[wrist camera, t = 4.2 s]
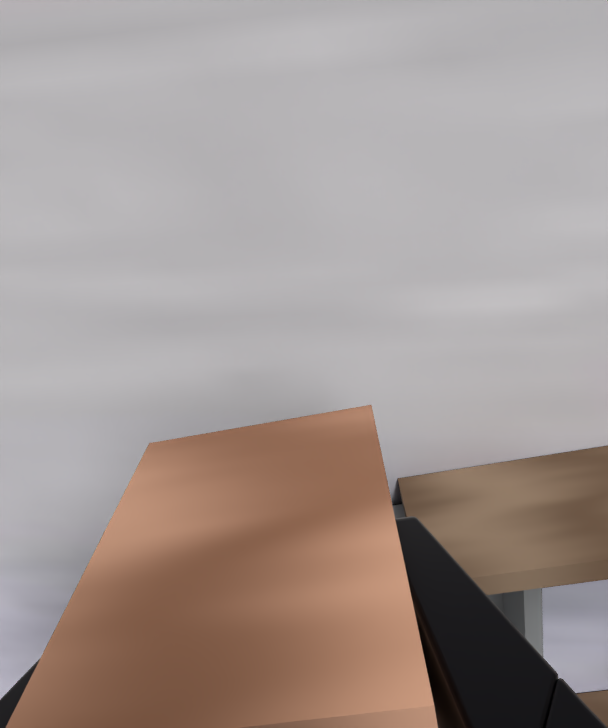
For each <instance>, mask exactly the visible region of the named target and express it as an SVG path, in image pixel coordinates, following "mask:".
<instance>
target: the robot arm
mask: <svg viewBox="0 0 608 728" xmlns="http://www.w3.org/2000/svg"><path fill="white" fill-rule="evenodd" d="M395 521H396V525H397V530H398V535H399V540H400V544H401V549H402V554H403V559H404V563H405V568H406V573H407V578H408V582H409V587H410V592H411V597H412V601H413V606H414V611H415V616H416V621H417V625H418V630H419V635H420V640H421V644H422V649H423V654H424V659H425V663H426V668H427V673H428V678H429V682H430V687H431V692H432V697H433V702H434V706H435V713H436V719H437V725H438V728H607V726H606V725H605V724H604V723H603V722H602V721H601V720H600V719H599V718H598V717H597V716H596V715H595V714H594V713H593V712H592V711H591V710H590V709H589V708H588V706H587V705H586V704H585V703H584V702H583V701H582V700H581V699H580V698H579V697H578V695H577V694H576V693H575V692H574V691H573V690H572V689H571V688H570V687H569V685H568V684H567V683H566V682H565V681H564V680H563V679H561V678H559V679H558V674H557V673H556V671H555V670H554V669H553V668H552V667H551V666H550V665H549V664H548V663H547V661H546V660H545V659H544V658H543V657H542V656H541V655H540V654H539V653H538V651H537V650H536V649H535V648H534V647H533V646H532V645H531V644H530V643H529V641H528V640H527V639H526V638H525V637H524V636H523V635H522V634H521V633H520V631H519V630H518V629H517V628H516V627H515V626H514V625H513V624H512V623H511V621H510V620H509V619H508V618H507V617H506V616H505V615H504V614H503V613H502V611H501V610H500V609H499V608H498V607H497V606H496V605H495V604H494V603H493V602H492V600H491V599H490V598H489V597H488V596H487V595H486V594H485V593H484V592H483V590H482V589H481V588H480V587H479V586H478V585H477V584H476V583H475V582H474V580H473V579H472V578H471V577H470V576H469V575H468V574H467V573H466V572H465V570H464V569H463V568H462V567H461V566H460V565H459V564H458V563H457V562H456V560H455V559H454V558H453V557H452V556H451V555H450V554H449V553H448V552H447V550H446V549H445V548H444V547H443V546H442V545H441V544H440V543H439V542H438V540H437V539H436V538H435V537H434V536H433V535H432V534H431V533H430V532H429V530H428V529H427V528H426V527H425V526H424V525H423V524H422V523H421V522H420V520H419V519H418V518H416V517H414V516H411V517H404V518H397V519H395ZM39 660H40V659H39ZM39 660H38V661H37V662H36V663H35V664H34V665H33V666H32V667H31V668H30V669H29V671H28V672H27V673H26V674H25V675H24V676H23V677H22V678H21V679H20V680H19V681H18V682H17V683H16V684H15V685H14V686H13V687H12V688H11V689H10V690H9V691H8V692H7V693H6V694H5V695H4V696H3V697H2V698H1V700H0V728H6V726H7V724H8V722H9V720H10V718H11V716H12V714H13V712H14V710H15V708H16V706H17V704H18V702H19V700H20V698H21V696H22V694H23V692H24V690H25V688H26V686H27V684H28V682H29V680H30V678H31V676H32V674H33V672H34V670H35V668H36V666H37V664H38V662H39Z"/></svg>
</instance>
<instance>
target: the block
mask: <svg viewBox="0 0 608 728" xmlns="http://www.w3.org/2000/svg"><path fill="white" fill-rule="evenodd" d="M6 728H438V725H437V719H436V713H435V706H434V702H433V697H432V692H431V687H430V682H429V678H428V673H427V668H426V663H425V659H424V654H423V649H422V644H421V640H420V635H419V630H418V625H417V621H416V616H415V611H414V606H413V601H412V597H411V592H410V587H409V582H408V578H407V573H406V568H405V563H404V559H403V554H402V549H401V544H400V540H399V535H398V530H397V525H396V521H395V516H394V511H393V506H392V501H391V497H390V492H389V487H388V482H387V478H386V473H385V468H384V463H383V459H382V454H381V449H380V444H379V440H378V435H377V430H376V425H375V421H374V416H373V411H372V406H371V405H368V406H362V407H356V408H351V409H345V410H339V411H333V412H327V413H322V414H316V415H310V416H304V417H299V418H293V419H287V420H281V421H275V422H270V423H264V424H258V425H252V426H247V427H241V428H235V429H229V430H223V431H218V432H212V433H206V434H200V435H194V436H189V437H183V438H177V439H171V440H166V441H160V442H154V443H149V445H148V447H147V449H146V451H145V453H144V455H143V457H142V459H141V461H140V463H139V465H138V467H137V469H136V471H135V473H134V475H133V477H132V478H131V480H130V482H129V484H128V486H127V488H126V490H125V492H124V494H123V496H122V498H121V500H120V502H119V504H118V506H117V508H116V510H115V512H114V514H113V516H112V518H111V520H110V522H109V524H108V526H107V528H106V530H105V532H104V534H103V536H102V538H101V540H100V542H99V544H98V546H97V548H96V550H95V552H94V554H93V556H92V558H91V560H90V562H89V564H88V566H87V567H86V569H85V571H84V573H83V575H82V577H81V579H80V581H79V583H78V585H77V587H76V589H75V591H74V593H73V595H72V597H71V599H70V601H69V603H68V605H67V607H66V609H65V611H64V613H63V615H62V617H61V619H60V621H59V623H58V625H57V627H56V629H55V631H54V633H53V635H52V637H51V639H50V641H49V643H48V645H47V647H46V649H45V651H44V653H43V655H42V657H41V658H40V660H39V662H38V664H37V666H36V668H35V670H34V672H33V674H32V676H31V678H30V680H29V682H28V684H27V686H26V688H25V690H24V692H23V694H22V696H21V698H20V700H19V702H18V704H17V706H16V708H15V710H14V712H13V714H12V716H11V718H10V720H9V722H8V724H7V726H6Z"/></svg>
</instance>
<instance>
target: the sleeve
mask: <svg viewBox="0 0 608 728" xmlns="http://www.w3.org/2000/svg"><path fill="white" fill-rule="evenodd" d="M398 483H399V490H400V495H401V500H402V504H403V508H404V512H405V517H411V516H414V517H416V518H418V519H419V520H420V522H421V523H422V524H423V525H424V526H425V527H426V528H427V529H428V530H429V532H430V533H431V534H432V535H433V536H434V537H435V538H436V539H437V540H438V542H439V543H440V544H441V545H442V546H443V547H444V548H445V549H446V550H447V552H448V553H449V554H450V555H451V556H452V557H453V558H454V559H455V560H456V562H457V563H458V564H459V565H460V566H461V567H462V568H463V569H464V570H465V572H466V573H467V574H468V575H469V576H470V577H471V578H472V579H473V580H474V582H475V583H476V584H477V585H478V586H479V587H480V588H481V589H482V590H483V592H484V593H485V594H486V595H492V594H499V593H507V592H515V591H522V590H530V589H537V588H545V587H553V586H560V585H568V584H575V583H583V582H591V581H598V580H606V579H608V446H603V447H597V448H590V449H584V450H578V451H571V452H565V453H558V454H552V455H546V456H539V457H533V458H526V459H520V460H514V461H507V462H501V463H494V464H488V465H482V466H475V467H469V468H462V469H456V470H450V471H443V472H437V473H430V474H424V475H418V476H411V477H405V478H399V479H398ZM577 695H578V697H579V698H580V699H581V700H582V701H583V702H584V703H585V704H586V705H587V706H588V708H589V709H590V710H591V711H592V712H593V713H594V714H595V715H596V716H597V717H598V718H599V719H600V720H601V721H602V722H603V723H604V724H605V725H606V726H607V728H608V690H605V691H596V692H587V693H578V694H577Z"/></svg>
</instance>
